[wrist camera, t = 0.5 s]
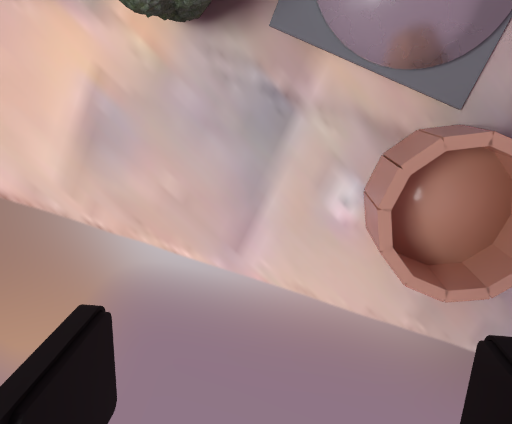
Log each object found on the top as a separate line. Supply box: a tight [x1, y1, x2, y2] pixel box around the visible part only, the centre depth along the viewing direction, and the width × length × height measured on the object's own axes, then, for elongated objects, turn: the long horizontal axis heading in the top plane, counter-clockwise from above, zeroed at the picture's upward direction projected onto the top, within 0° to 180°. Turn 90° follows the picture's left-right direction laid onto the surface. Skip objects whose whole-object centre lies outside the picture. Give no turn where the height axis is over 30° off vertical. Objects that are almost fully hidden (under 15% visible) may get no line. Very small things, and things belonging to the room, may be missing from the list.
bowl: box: [364, 125, 512, 303], centre depth 34 cm, size 13×13×6 cm
